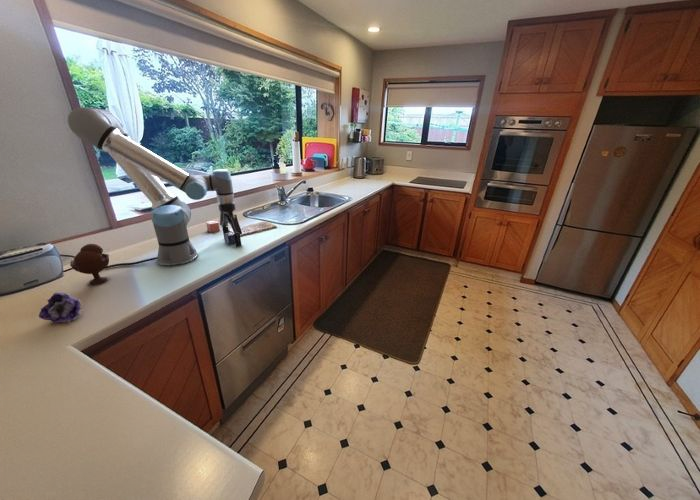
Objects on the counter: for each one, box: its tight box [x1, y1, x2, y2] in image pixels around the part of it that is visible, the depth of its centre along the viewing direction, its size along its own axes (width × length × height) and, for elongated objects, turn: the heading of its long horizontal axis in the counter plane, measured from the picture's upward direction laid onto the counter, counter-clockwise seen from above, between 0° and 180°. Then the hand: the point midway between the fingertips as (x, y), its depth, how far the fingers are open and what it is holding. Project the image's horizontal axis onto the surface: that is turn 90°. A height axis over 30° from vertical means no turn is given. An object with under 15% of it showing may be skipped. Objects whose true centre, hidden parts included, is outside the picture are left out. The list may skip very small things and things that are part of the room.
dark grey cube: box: [223, 232, 235, 246], centre depth 144 cm, size 5×5×5 cm
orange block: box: [205, 220, 221, 234], centre depth 159 cm, size 5×5×5 cm
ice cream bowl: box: [69, 243, 110, 287], centre depth 103 cm, size 11×11×15 cm
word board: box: [228, 220, 277, 237], centre depth 164 cm, size 24×12×1 cm, turn 135°
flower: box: [38, 292, 82, 324], centre depth 86 cm, size 9×9×10 cm
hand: (232, 242), depth 145 cm, fingers open, 13 cm apart
